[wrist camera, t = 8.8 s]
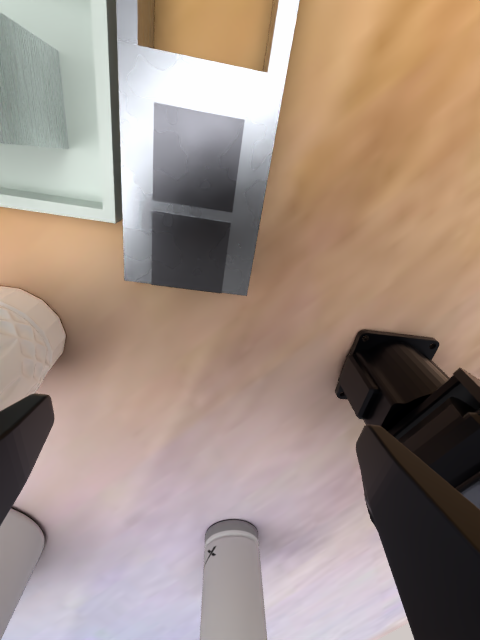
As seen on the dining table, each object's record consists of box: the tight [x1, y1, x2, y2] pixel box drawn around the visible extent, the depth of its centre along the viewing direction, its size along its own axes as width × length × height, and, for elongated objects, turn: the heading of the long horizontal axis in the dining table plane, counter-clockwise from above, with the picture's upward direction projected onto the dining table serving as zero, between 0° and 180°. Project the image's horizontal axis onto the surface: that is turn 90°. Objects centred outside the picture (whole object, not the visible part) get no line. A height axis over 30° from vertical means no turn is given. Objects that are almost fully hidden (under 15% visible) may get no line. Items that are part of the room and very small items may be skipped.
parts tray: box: [0, 0, 123, 223], centre depth 14 cm, size 10×10×3 cm
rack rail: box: [116, 0, 300, 296], centre depth 14 cm, size 7×20×3 cm, turn 171°
